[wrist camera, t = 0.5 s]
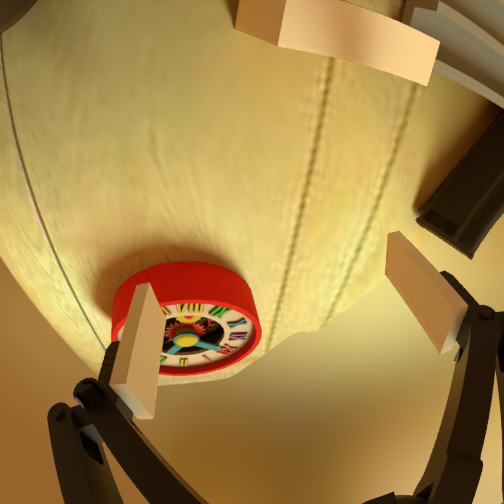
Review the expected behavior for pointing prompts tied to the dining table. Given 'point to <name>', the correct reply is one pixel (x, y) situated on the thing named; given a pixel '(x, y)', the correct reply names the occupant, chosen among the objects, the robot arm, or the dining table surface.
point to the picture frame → (341, 34)
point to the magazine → (470, 195)
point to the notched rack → (464, 41)
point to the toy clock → (196, 316)
